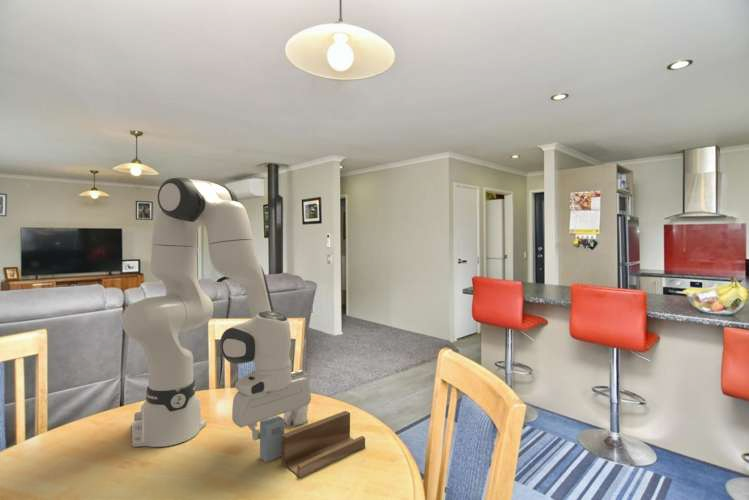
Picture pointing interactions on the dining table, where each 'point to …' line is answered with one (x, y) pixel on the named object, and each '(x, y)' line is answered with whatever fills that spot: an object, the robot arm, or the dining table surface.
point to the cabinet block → (271, 438)
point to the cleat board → (319, 444)
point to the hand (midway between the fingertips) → (274, 432)
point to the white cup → (300, 417)
